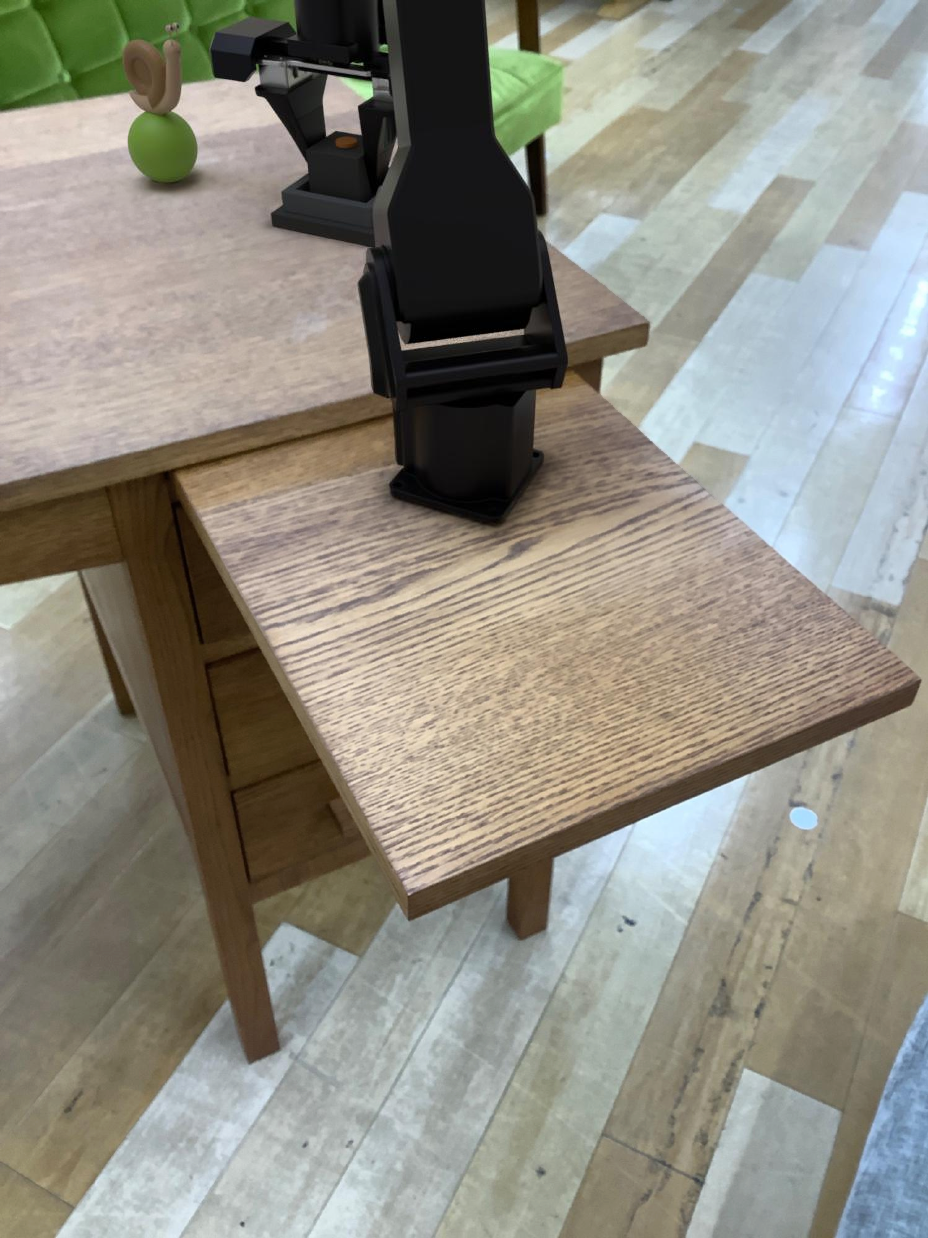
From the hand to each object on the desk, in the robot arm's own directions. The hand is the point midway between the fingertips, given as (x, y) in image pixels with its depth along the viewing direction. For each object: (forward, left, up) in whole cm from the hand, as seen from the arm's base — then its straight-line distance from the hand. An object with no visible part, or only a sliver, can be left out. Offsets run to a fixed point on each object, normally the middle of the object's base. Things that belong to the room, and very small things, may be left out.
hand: (350, 185), depth 79 cm
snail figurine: (+17, 0, -2) cm, 17 cm away
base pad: (0, 0, -2) cm, 2 cm away
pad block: (0, 0, -1) cm, 1 cm away
